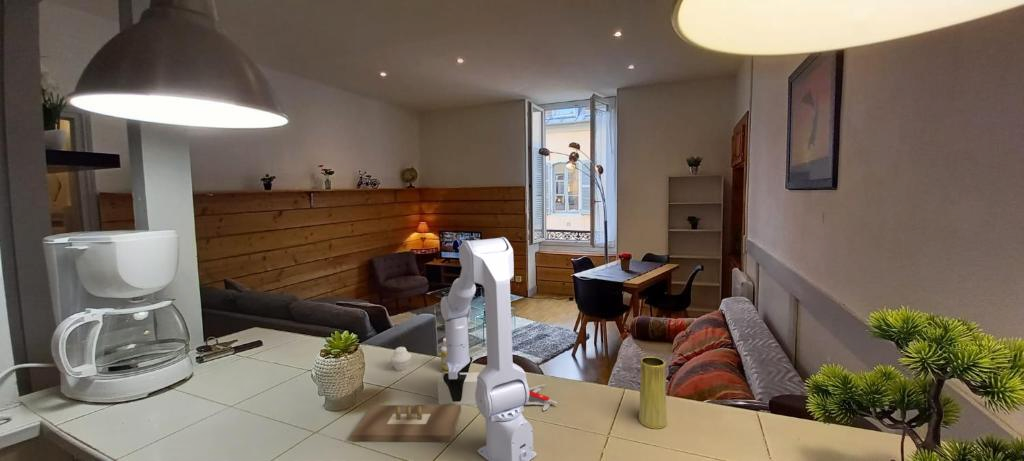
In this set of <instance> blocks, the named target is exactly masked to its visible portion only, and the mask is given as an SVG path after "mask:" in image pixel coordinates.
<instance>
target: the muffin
mask: <svg viewBox="0 0 1024 461" xmlns="http://www.w3.org/2000/svg"><path fill="white" fill-rule="evenodd" d="M411 359H412V354H411V353H410V352H409V351H408V350H407V348H406V347H405V346H398V347H396V348H395V349H394V352H393V354H392V355H391V357H390V363H391V365H392V366H393V367H394V368H395V371H396V372H402V371H405V370H407V369H408V367H409V365H410V362H411Z"/></svg>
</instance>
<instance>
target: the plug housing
mask: <svg viewBox="0 0 1024 461" xmlns="http://www.w3.org/2000/svg"><path fill="white" fill-rule="evenodd" d="M479 373H480V372H468V373H460V375H467V376H466V379H465V381H464V384H463V392H462V399H461V401H460V402H453V401H452V398H451V394H450V391H449V388H448V386H447V384H446V383H445V382H444V380H443V376H444V374H445V373H444V372H441V374H440V377H439V378H438V380H437V395H438V397H437V398H438V405H477V404H476V399H475V391H476V387H477V376H478V375H479Z"/></svg>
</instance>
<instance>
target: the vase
mask: <svg viewBox="0 0 1024 461" xmlns="http://www.w3.org/2000/svg"><path fill="white" fill-rule="evenodd" d="M639 388H640V389H639V411H638V421H639V422H640V423H641V424H642V425H643V426H644V427H646V428H650V429H656V430H657V429H658V430H659V429H660V430H661V429H663V428H665V427H666V426H667V424H668V421H667V420H668V419H667V391H666V361H665V360H664V359H662V358H660V357H658V356H644V357H641V359H640V387H639Z"/></svg>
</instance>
